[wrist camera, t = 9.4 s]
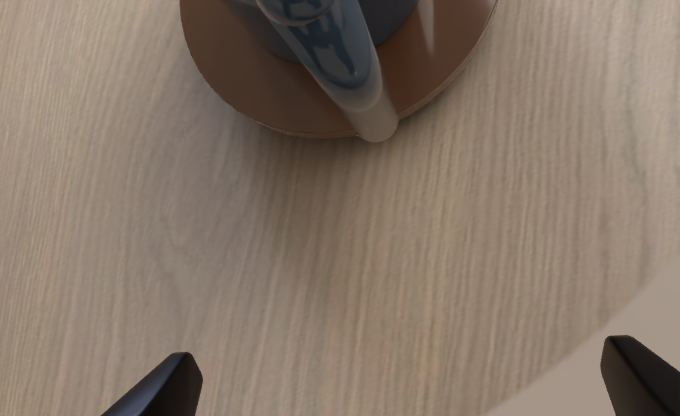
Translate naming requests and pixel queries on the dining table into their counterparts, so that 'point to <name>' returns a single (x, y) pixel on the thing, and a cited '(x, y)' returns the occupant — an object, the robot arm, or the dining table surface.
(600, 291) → the dining table surface
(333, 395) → the dining table surface
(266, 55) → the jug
